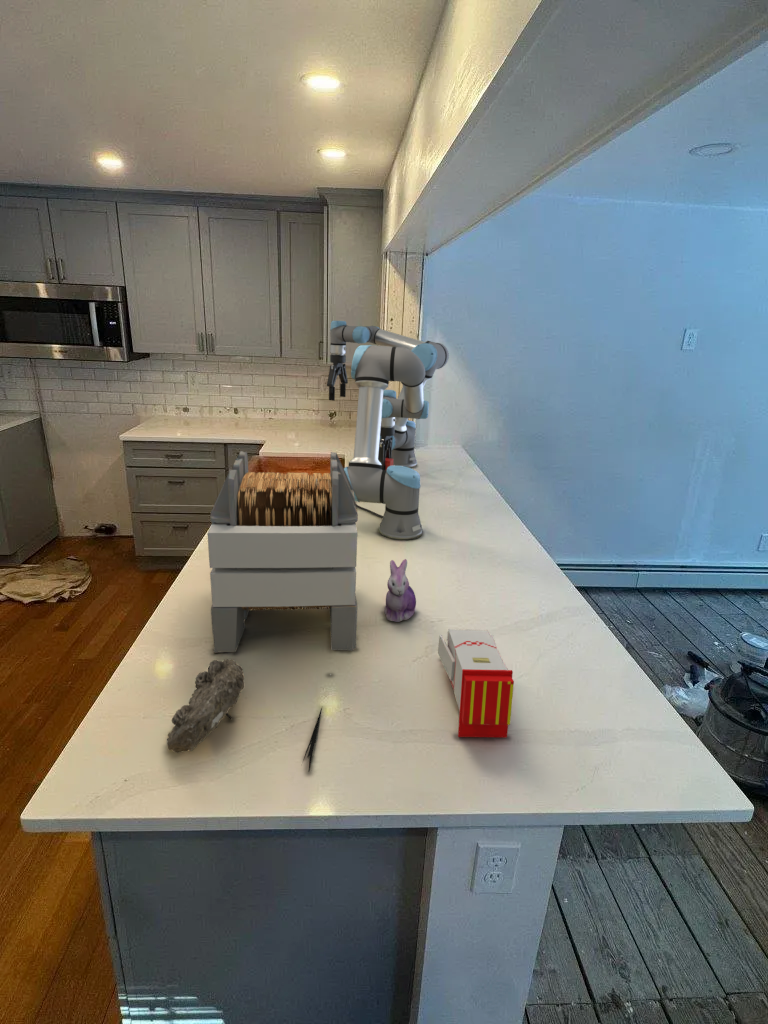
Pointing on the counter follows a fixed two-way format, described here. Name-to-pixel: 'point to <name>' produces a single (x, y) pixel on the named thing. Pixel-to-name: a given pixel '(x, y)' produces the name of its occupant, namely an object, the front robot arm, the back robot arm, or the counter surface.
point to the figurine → (399, 594)
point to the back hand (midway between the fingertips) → (337, 398)
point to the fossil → (206, 705)
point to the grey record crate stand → (283, 549)
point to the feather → (313, 740)
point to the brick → (388, 462)
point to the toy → (478, 682)
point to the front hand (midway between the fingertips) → (383, 477)
